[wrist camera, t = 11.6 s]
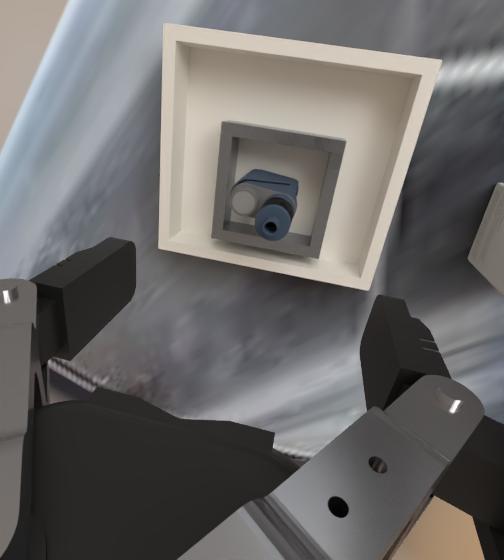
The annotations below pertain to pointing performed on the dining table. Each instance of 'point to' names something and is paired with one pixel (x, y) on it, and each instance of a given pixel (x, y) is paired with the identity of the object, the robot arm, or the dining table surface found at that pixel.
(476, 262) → the supplement box
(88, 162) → the dining table surface
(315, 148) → the inlet socket
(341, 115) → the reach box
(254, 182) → the vaping device
